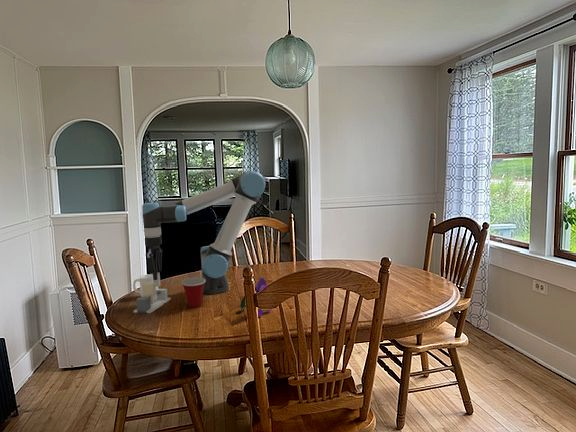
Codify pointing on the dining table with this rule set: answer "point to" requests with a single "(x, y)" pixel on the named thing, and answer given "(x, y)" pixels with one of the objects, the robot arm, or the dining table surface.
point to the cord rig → (145, 303)
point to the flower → (258, 288)
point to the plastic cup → (194, 291)
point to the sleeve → (150, 291)
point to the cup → (143, 280)
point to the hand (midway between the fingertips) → (157, 286)
